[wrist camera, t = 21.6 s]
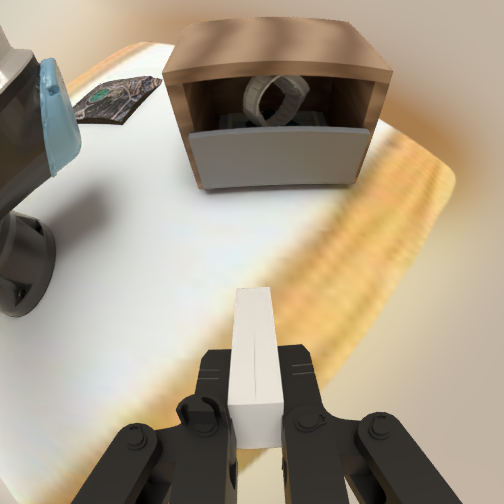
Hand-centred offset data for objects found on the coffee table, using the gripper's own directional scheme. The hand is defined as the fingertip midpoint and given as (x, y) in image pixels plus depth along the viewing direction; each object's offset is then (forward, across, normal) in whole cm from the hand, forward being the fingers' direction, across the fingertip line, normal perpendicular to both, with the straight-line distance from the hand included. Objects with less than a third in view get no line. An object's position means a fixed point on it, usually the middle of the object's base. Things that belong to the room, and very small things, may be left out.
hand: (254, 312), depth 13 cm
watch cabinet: (+29, +4, +8) cm, 30 cm away
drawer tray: (+27, +4, +7) cm, 28 cm away
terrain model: (+45, -28, +21) cm, 57 cm away
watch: (+26, +3, +8) cm, 27 cm away
